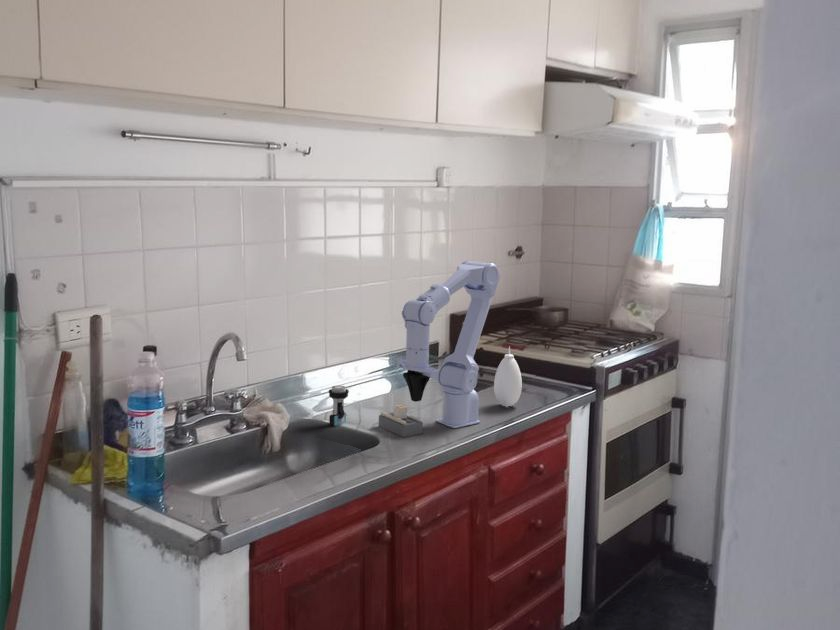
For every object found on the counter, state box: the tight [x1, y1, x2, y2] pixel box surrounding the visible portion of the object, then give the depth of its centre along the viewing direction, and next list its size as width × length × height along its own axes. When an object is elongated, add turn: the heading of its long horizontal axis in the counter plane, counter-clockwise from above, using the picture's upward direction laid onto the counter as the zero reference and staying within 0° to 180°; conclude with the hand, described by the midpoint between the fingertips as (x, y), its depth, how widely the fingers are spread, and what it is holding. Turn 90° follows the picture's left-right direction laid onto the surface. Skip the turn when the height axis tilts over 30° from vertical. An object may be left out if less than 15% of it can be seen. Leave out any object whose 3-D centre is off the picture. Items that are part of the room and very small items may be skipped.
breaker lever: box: [393, 404, 408, 419], centre depth 212 cm, size 2×2×3 cm
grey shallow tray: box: [378, 411, 424, 438], centre depth 212 cm, size 6×11×4 cm, turn 38°
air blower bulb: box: [493, 345, 523, 407], centre depth 235 cm, size 8×8×18 cm
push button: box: [328, 385, 350, 427], centre depth 216 cm, size 7×5×10 cm
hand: (416, 400), depth 206 cm, fingers closed
